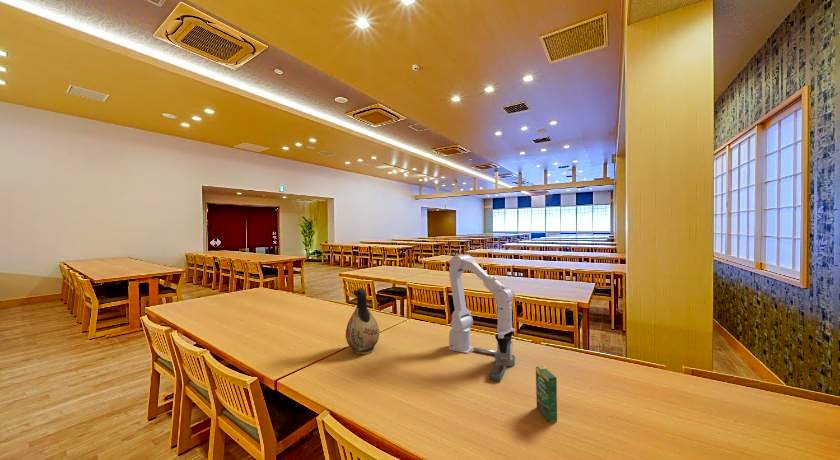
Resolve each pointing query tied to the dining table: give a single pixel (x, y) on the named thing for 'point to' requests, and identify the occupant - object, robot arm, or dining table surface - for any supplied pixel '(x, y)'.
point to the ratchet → (501, 367)
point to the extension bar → (484, 351)
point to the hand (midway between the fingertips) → (504, 349)
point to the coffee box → (546, 393)
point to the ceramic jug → (362, 327)
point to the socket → (508, 352)
